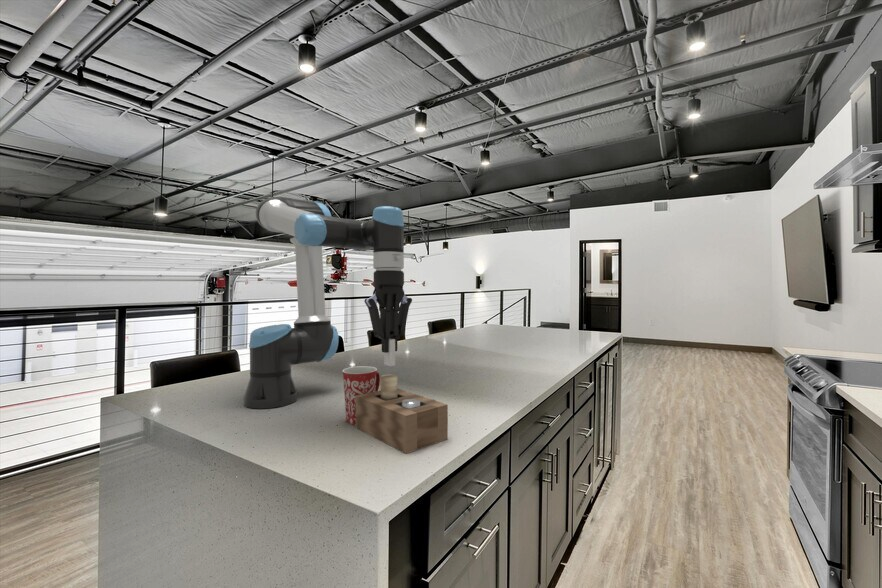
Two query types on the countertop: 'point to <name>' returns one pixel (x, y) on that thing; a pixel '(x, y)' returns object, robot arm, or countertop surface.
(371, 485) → the countertop surface
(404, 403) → the steel peg
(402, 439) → the socket block
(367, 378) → the mug
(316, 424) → the countertop surface
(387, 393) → the beech peg
